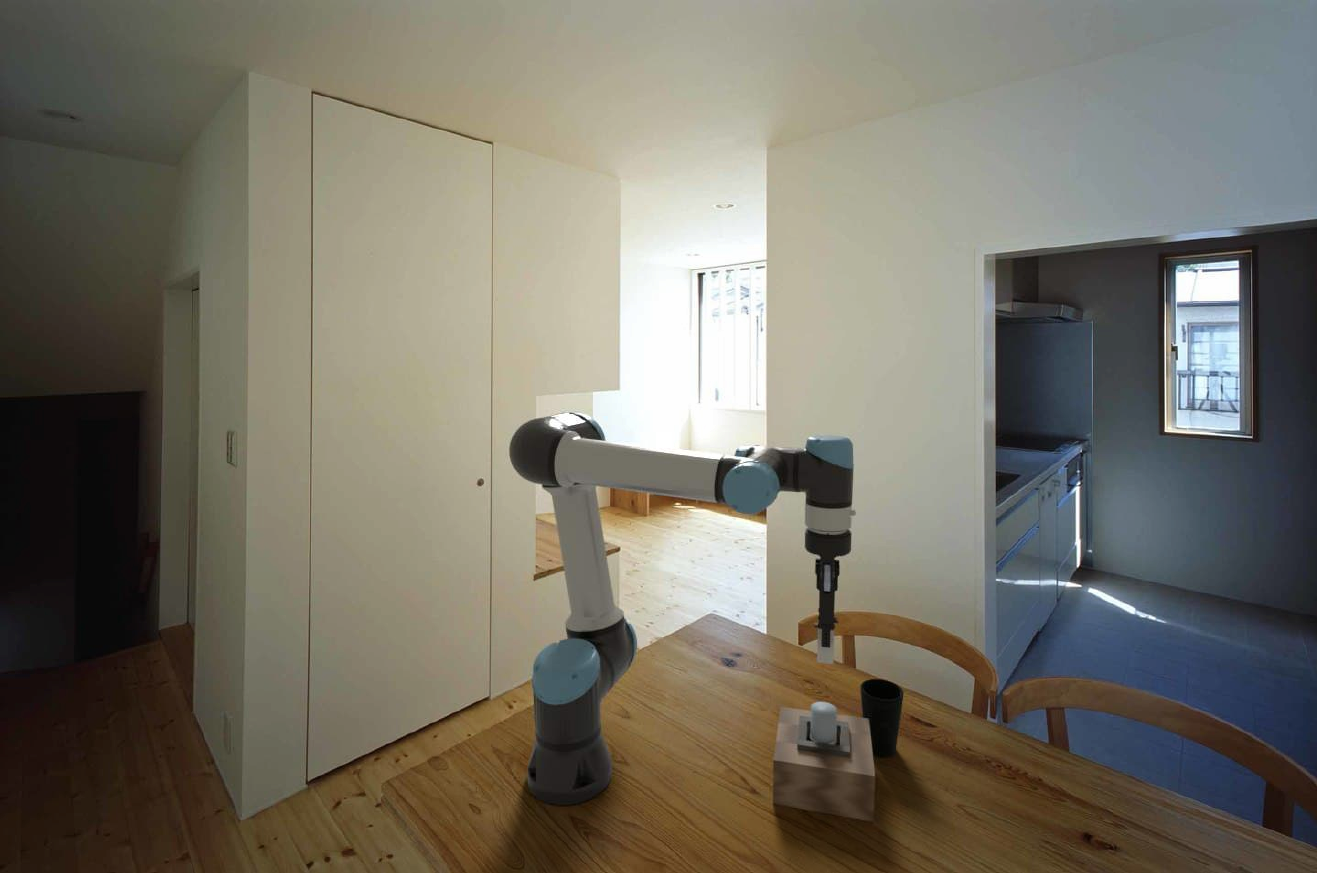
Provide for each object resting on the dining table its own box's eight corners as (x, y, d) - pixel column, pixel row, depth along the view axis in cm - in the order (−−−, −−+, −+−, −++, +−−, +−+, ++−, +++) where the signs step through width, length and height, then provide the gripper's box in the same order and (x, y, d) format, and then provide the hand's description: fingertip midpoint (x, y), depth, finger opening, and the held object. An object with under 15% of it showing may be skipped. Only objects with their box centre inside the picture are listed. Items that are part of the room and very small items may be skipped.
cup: (905, 763, 112) (907, 702, 110) (862, 759, 113) (863, 699, 112) (897, 737, 119) (898, 679, 118) (856, 734, 121) (857, 677, 119)
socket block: (773, 804, 102) (773, 754, 101) (780, 745, 117) (780, 701, 116) (873, 822, 98) (875, 770, 97) (867, 758, 113) (868, 713, 112)
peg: (809, 778, 106) (810, 714, 105) (810, 762, 110) (811, 700, 109) (836, 783, 105) (837, 717, 103) (836, 766, 109) (837, 703, 108)
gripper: (853, 541, 94) (849, 683, 98) (850, 519, 107) (846, 646, 110) (803, 538, 96) (801, 677, 100) (806, 517, 109) (804, 641, 112)
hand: (825, 661), depth 105 cm, fingers closed
